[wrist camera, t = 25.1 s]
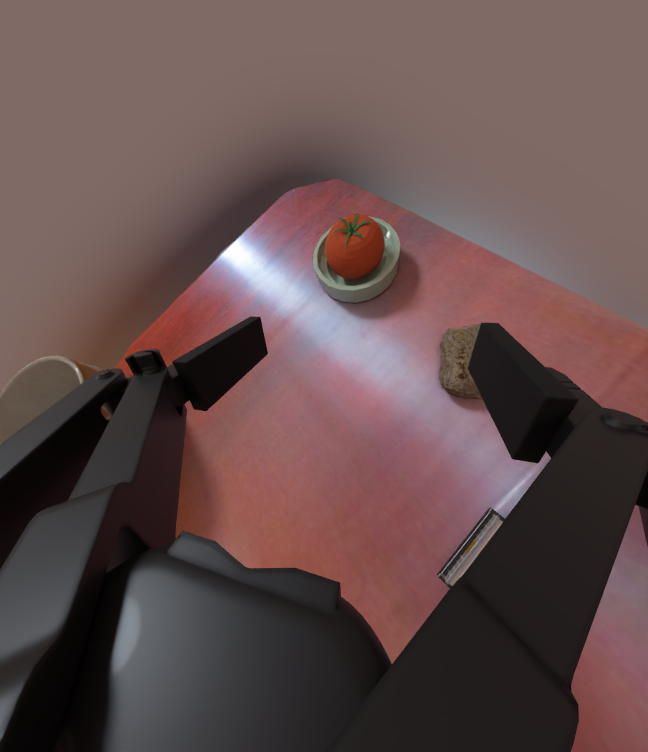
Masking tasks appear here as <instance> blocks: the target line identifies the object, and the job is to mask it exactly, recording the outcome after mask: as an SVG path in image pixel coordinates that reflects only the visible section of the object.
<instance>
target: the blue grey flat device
mask: <svg viewBox="0 0 648 752" xmlns="http://www.w3.org/2000/svg"><path fill="white" fill-rule="evenodd" d="M504 520H505V519H504V518H503V517H502V516H501V515H499V514H498V513H497V512H496V511H494V510H493V509H492V508H491V507H490V508H489V509H488V511H487V512H486V513H485V514H484V516H483V517H482V518H481V519H480V521H479V522H478V523H477V525H476V526H475V527H474V528H473V530H472V531H471V532H470V533H469V535H468V536H467V537H466V539H465V540H464V541H463V542H462V544H461V545H460V546H459V547H458V549H457V550H456V551H455V553H454V554H453V555H452V556H451V558H450V559H449V560H448V561H447V563H446V564H445V565H444V566H443V568H442V569H441V570H440V572H439V573H438V574H437V575H438V577H439V578H440V579H441V580H442V581H443V582H444V583H445V584H446V585H447V586H448V587H449V588H451V587H452V586H453V585H454V583H455V582H456V581H457V580H458V579H459V578H460V577H461V576H462V575H463V574H464V573H465V571H466V570H467V569H468V568H469V566H470V565H471V564H472V562H473V561H474V560H475V558H476V557H477V556H478V554H479V553H480V552H481V550H482V549H483V548H484V546H485V545H486V544H487V543H488V541H489V540H490V539H491V537H492V536H493V535H494V533H495V532H496V531H497V529H498V528H499V527H500V525H501V524H502V523H503V522H502V521H504Z"/></svg>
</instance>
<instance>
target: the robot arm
mask: <svg viewBox="0 0 648 752" xmlns="http://www.w3.org/2000/svg"><path fill="white" fill-rule="evenodd" d="M267 354H268V352H267V347H266V342H265V337H264V333H263V328H262V323H261V318H260V317H249V318H247V319H245V320H244V321H242V322H240V323H239V324H237V325H235V326H233V327H232V328H230V329H228V330H226V331H225V332H223V333H221V334H219V335H218V336H216V337H214V338H212V339H211V340H209V341H207V342H205V343H204V344H202V345H200V346H198V347H197V348H195V349H193V350H192V351H190V352H188V353H186V354H185V355H183V356H181V357H179V358H178V359H176V360H174V361H172V362H173V364H172V365H170V366H169V367H166V365H165V362H164V360H163V358H162V356H161V354H160V352H159V350H156V349H149V350H144V351H140V352H137V353H134V354H131V355H130V356H128V357H127V358H125V360H126V362H127V363H128V365H129V367H130V369H131V370H132V372H133V374H134V376H133V377H128V378H126V376H125V374H124V373H123V371H122V369H110V370H109V369H107V370H103V371H100V372H98V373H96V374H95V375H93V376H91V377H89V378H88V379H87V380H85V381H84V382H83V383H81V384H80V385H79V386H77V387H76V388H75V389H73V390H72V391H71V392H69V393H68V394H67V395H65V396H64V397H63V398H62V399H60V400H59V401H58V402H56V403H55V404H54V405H52V406H51V407H50V408H48V409H47V410H46V411H44V412H43V413H42V414H40V415H39V416H38V417H36V418H35V419H34V420H32V421H31V422H30V423H28V424H27V425H26V426H24V427H23V428H22V429H20V430H19V431H18V432H16V433H15V434H14V435H12V436H11V437H10V438H8V439H7V440H6V441H4V442H3V443H2V444H0V752H571V749H572V746H573V743H574V739H575V734H576V730H577V725H578V721H579V717H578V703H577V701H576V700H575V698H574V696H573V694H572V692H571V683H572V679H573V675H574V672H575V669H576V666H577V664H578V661H579V658H580V655H581V653H582V650H583V647H584V644H585V642H586V639H587V636H588V633H589V631H590V628H591V625H592V622H593V620H594V617H595V614H596V611H597V608H598V606H599V603H600V600H601V597H602V595H603V592H604V589H605V586H606V584H607V581H608V578H609V575H610V573H611V570H612V567H613V564H614V562H615V559H616V556H617V553H618V551H619V548H620V545H621V542H622V539H623V537H624V534H625V531H626V528H627V526H628V523H629V520H630V517H631V515H632V512H633V509H634V506H635V505H638V506H639V509H640V514H641V518H642V523H643V527H644V532H645V536H646V541H647V545H648V423H647V422H645V421H643V420H642V419H640V418H637V417H635V416H633V415H630V414H628V413H625V412H621V411H617V410H614V409H607V408H602V407H601V406H600V405H599V404H598V403H597V402H595V401H594V400H593V399H592V398H591V397H590V396H589V395H587V394H586V393H585V392H584V391H583V390H581V388H579V387H578V386H577V385H576V384H573V381H571V380H570V379H569V378H568V377H567V376H566V375H564V374H562V373H560V372H559V371H557V370H555V369H553V368H549V367H544V366H543V365H542V364H541V363H540V362H539V361H538V360H537V359H536V358H535V357H534V356H532V355H531V354H530V353H529V352H528V351H527V350H526V349H525V348H524V347H523V346H522V345H521V344H520V343H519V342H518V341H516V340H515V339H514V338H513V337H512V336H511V335H510V334H509V333H508V332H507V331H506V330H505V329H504V328H503V327H502V326H501V325H499V324H498V323H481V325H480V329H479V332H478V335H477V339H476V342H475V345H474V348H473V352H472V355H471V358H470V362H469V365H468V370H469V372H470V374H471V376H472V378H473V380H474V382H475V384H476V386H477V388H478V390H479V392H480V395H481V397H482V399H483V401H484V403H485V405H486V407H487V409H488V411H489V413H490V415H491V417H492V419H493V421H494V423H495V425H496V427H497V429H498V431H499V433H500V435H501V437H502V439H503V441H504V443H505V445H506V447H507V449H508V451H509V453H510V455H511V457H512V459H515V460H521V461H527V462H534V463H539V461H540V460H541V458H542V457H543V455H544V454H545V452H546V451H547V453H548V454H549V456H550V457H551V460H550V461H549V462H548V464H547V465H546V466H545V468H544V469H543V470H542V472H541V473H540V474H539V475H538V477H537V478H536V479H535V481H534V482H533V483H532V485H531V486H530V487H529V489H528V490H527V491H526V493H525V494H524V495H523V497H522V498H521V499H520V500H519V502H518V503H517V504H516V506H515V507H514V508H513V510H512V511H511V512H510V514H509V515H508V516H507V518H506V519H505V520H504V521H503V523H502V524H501V525H500V527H499V528H498V529H497V531H496V532H495V533H494V535H493V536H492V537H491V539H490V540H489V541H488V543H487V544H486V545H485V546H484V548H483V549H482V550H481V552H480V553H479V554H478V556H477V557H476V558H475V560H474V561H473V562H472V564H471V565H470V566H469V568H468V569H467V570H466V571H465V573H464V574H463V575H462V576H461V577H460V578H459V579H458V580H457V581H456V582H455V583H454V585H453V586H452V587H451V588H450V590H449V591H448V592H447V594H446V595H445V596H444V597H443V599H442V600H441V601H440V603H439V604H438V605H437V607H436V608H435V609H434V611H433V612H432V613H431V614H430V616H429V617H428V618H427V620H426V621H425V622H424V624H423V625H422V626H421V627H420V629H419V630H418V631H417V633H416V634H415V635H414V637H413V638H412V639H411V641H410V642H409V643H408V644H407V646H406V647H405V648H404V650H403V651H402V652H401V654H400V655H399V656H398V658H397V659H396V660H395V661H394V663H393V664H391V661H390V659H389V657H388V655H387V653H386V651H385V649H384V648H383V646H382V644H381V642H380V640H379V639H378V637H377V636H376V634H375V632H374V631H373V629H372V628H371V626H370V625H369V624H368V623H367V621H366V620H365V619H364V618H363V616H362V615H361V614H360V613H359V612H358V611H357V610H356V609H355V608H354V607H353V606H352V605H351V604H350V603H349V602H347V601H346V600H345V599H344V598H342V597H341V589H340V583H339V582H336V581H333V580H330V579H327V578H324V577H321V576H318V575H315V574H312V573H309V572H306V571H303V570H300V569H297V568H254V569H252V568H247V567H245V566H243V565H242V564H241V563H240V562H239V561H237V560H236V559H235V558H234V557H233V556H232V555H231V554H229V553H228V552H227V551H226V550H225V549H224V548H222V547H221V546H220V545H219V544H218V543H217V542H215V541H212V540H209V539H206V538H203V537H200V536H197V535H194V534H191V533H188V532H185V531H182V532H181V533H180V535H179V536H178V538H177V539H176V535H175V532H176V520H177V509H178V499H179V488H180V478H181V467H182V457H183V446H184V436H185V425H186V415H187V409H186V407H185V405H184V404H185V403H186V402H187V401H189V400H190V402H191V404H192V406H193V408H194V409H196V410H202V411H207V410H208V409H209V408H210V407H211V406H212V405H213V404H215V403H216V402H217V401H218V400H219V399H220V398H221V397H222V396H223V395H224V394H225V393H226V392H227V391H228V390H230V389H231V388H232V387H233V386H234V385H235V384H236V383H237V382H238V381H239V380H240V379H241V378H242V377H243V376H245V375H246V374H247V373H248V372H249V371H250V370H251V369H252V368H253V367H254V366H255V365H256V364H257V363H259V362H260V361H261V360H262V359H263V358H264V357H265V356H266V355H267ZM103 405H104V407H105V408H106V410H107V411H108V412H109V414H110V415H111V417H110V418H109V419H108V420H107V419H106V418H105V417H104V416H103V414H102V413H101V407H102V406H103Z"/></svg>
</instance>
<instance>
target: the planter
mask: <svg viewBox="0 0 648 752" xmlns="http://www.w3.org/2000/svg"><path fill="white" fill-rule="evenodd" d="M103 370H105V369H101V368H98V367H95V366H92V365H89V364H85V363H82V362H79V361H75V360H72V359H68V358H65V357H61V356H47V357H43V358H40V359H38V360H35V361H33V362H32V363H30V364H28V365H27V366H25V367H24V368H23V369H21V370H20V371H19V372H18V373H17V374H16V375H14V376H13V377H12V379H11V380H10V381H9V382H8V383H7V384H6V385H5V387H4V388H3V389H2V391H1V392H0V444H2V443H3V442H4V441H6V440H7V439H8V438H10V437H11V436H12V435H14V434H15V433H16V432H18V431H19V430H20V429H22V428H23V427H24V426H26V425H27V424H28V423H30V422H31V421H32V420H34V419H35V418H36V417H38V416H39V415H40V414H42V413H43V412H44V411H46V410H47V409H48V408H50V407H51V406H52V405H54V404H55V403H56V402H58V401H59V400H60V399H62V398H63V397H64V396H65V395H67V394H68V393H69V392H71V391H72V390H73V389H75V388H76V387H77V386H79V385H80V384H81V383H83V382H84V381H85V380H87V379H88V378H89V377H91V376H93V375H95V374H96V373H98V372H100V371H103ZM126 378H128V376H126ZM101 413H102V414H103V416H104V417H105V418H106V419H107V420H108V419H109V418H110V417H111V415H110V414H109V412H108V411H107V410H106V408H105V407H104V405H103V406H102V407H101Z"/></svg>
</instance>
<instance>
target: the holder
mask: <svg viewBox="0 0 648 752" xmlns="http://www.w3.org/2000/svg"><path fill="white" fill-rule="evenodd" d="M368 217H370V216H368ZM370 218H372V219H373V220H374V221H375V222H376V223H377V224H378V225H379V226H380V228H381V230H382V233H383V235H384V243H385V246H384V253H383V256H382V259H381V261H380V263H379V264H378V266H377V267H376V268H375V269H374V270H373V271H372V272H371V273H370V274H368V275H366V276H365V277H362V278H359V279H346V278H343V277H341V276H339V275H337V274H336V273H335V272H334V271H333V270H332V269H331V268H330V266H329V264H328V262H327V260H326V256H325V243H326V238H327V236H328V234H329V231H330V230H331V228H332V227H333V226H332V227H331V228H330V229H329V230H328V231H327V232H325V233H324V234H323V235H322V237H321V238H320V240H319V242H318V243H317V245H316V247H315V251H314V255H313V263H314V269H315V272H316V275H317V277H318V280H319V282H320V284H321V286H322V288H323V290H324V291H325V292H326V293H327V294H329V295H330V296H331V297H332V298H334V299H337V300H340V301H342V302H352V303H357V302H362V301H366V300H370V299H372V298H374V297H375V296H377V295H379V294H381V293H382V292H383V291H384V290H385V289H386V288H387V287H388V286H390V285H391V283H392V281H393V279H394V278H395V276H396V274H397V269H398V263H399V254H400V242H399V238H398V234H397V233H396V232H395V230H394V229H393V228H392V226H391V225H389V224H388V223H386V222H385V221H383V220H381V219H378V218H374V217H370Z"/></svg>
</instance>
